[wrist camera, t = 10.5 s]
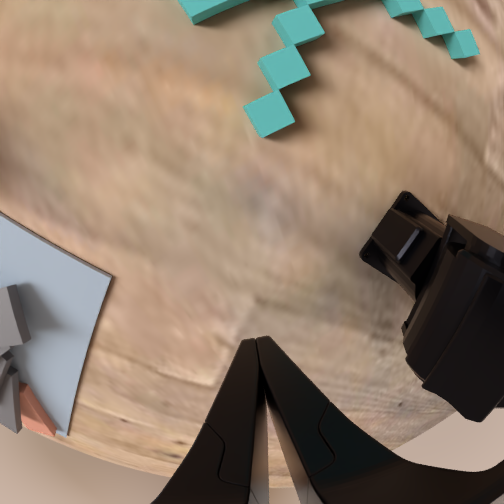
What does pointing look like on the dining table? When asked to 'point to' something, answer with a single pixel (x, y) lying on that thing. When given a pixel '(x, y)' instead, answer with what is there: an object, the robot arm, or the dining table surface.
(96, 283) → the mat
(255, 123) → the alien figure
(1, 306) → the domino
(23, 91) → the dining table surface
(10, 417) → the domino
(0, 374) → the domino
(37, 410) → the domino
